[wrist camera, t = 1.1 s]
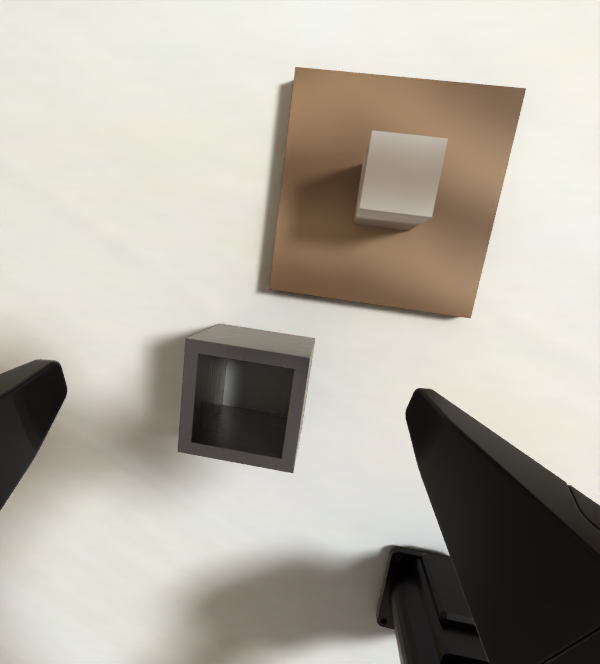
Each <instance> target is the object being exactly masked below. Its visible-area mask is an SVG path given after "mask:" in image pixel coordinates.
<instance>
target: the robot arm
mask: <svg viewBox="0 0 600 664" xmlns="http://www.w3.org/2000/svg"><path fill="white" fill-rule="evenodd" d="M66 395H67V385H66V382H65V378H64V374H63V371H62V367H61V364H60V363H59V362H57V361H55V360H42V359H39V360H34V361H32V362H29V363H27V364H24V365H22V366H19V367H17V368H14V369H12V370H9V371H7V372H4V373H2V374H0V510H1V509H2V507H3V506H4V504H5V503H6V501H7V500H8V498H9V496H10V495H11V493H12V492H13V490H14V489H15V487H16V486H17V484H18V483H19V481H20V480H21V478H22V477H23V475H24V473H25V472H26V470H27V469H28V467H29V466H30V464H31V462H32V461H33V459H34V458H35V456H36V454H37V452H38V451H39V449H40V447H41V445H42V443H43V441H44V439H45V437H46V435H47V433H48V431H49V429H50V427H51V425H52V423H53V421H54V419H55V417H56V416H57V414H58V412H59V410H60V408H61V406H62V404H63V402H64V400H65V398H66ZM406 421H407V425H408V429H409V433H410V437H411V441H412V445H413V449H414V453H415V457H416V461H417V464H418V468H419V471H420V474H421V477H422V480H423V483H424V485H425V488H426V491H427V494H428V496H429V499H430V502H431V505H432V507H433V510H434V513H435V516H436V518H437V521H438V524H439V527H440V530H441V532H442V535H443V538H444V541H445V543H446V546H447V549H448V552H449V554H450V557H446V556H441V555H436V554H430V553H425V552H420V551H415V550H410V549H405V548H400V547H395V548H393V549H391V551H390V555H389V560H388V564H387V569H386V573H385V578H384V582H383V586H382V591H381V595H380V600H379V604H378V609H377V613H376V617H377V623H378V624H379V625H380V626H382V627H386V628H391V629H395V635H396V640H397V646H398V651H399V657H400V662H401V664H600V505H598V504H597V503H595V502H594V501H592V500H591V499H589V498H588V497H586V496H585V495H584V494H582V493H581V492H579V491H578V490H576V489H575V488H574V487H572V486H571V485H567V483H566V482H565V481H563V480H562V479H561V478H559V477H558V476H556V475H555V474H553V473H552V472H550V471H549V470H548V469H546V468H545V467H543V466H542V465H540V464H539V463H537V462H536V461H535V460H533V459H532V458H530V457H529V456H527V455H526V454H524V453H523V452H522V451H520V450H519V449H517V448H516V447H514V446H513V445H511V444H510V443H509V442H507V441H506V440H504V439H503V438H501V437H500V436H499V435H497V434H496V433H494V432H493V431H491V430H490V429H488V428H487V427H486V426H484V425H483V424H481V423H480V422H478V421H477V420H475V419H474V418H473V417H471V416H470V415H468V414H467V413H465V412H464V411H463V410H461V409H460V408H458V407H457V406H455V405H454V404H452V403H451V402H450V401H448V400H447V399H445V398H444V397H442V396H441V395H439V394H438V393H437V392H435V391H434V390H432V389H425V388H418V389H416V390H415V391H414V393H413V395H412V397H411V400H410V402H409V404H408V406H407V409H406ZM396 555H400V556H396Z"/></svg>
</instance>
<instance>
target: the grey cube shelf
mask: <svg viewBox="0 0 600 664" xmlns="http://www.w3.org/2000/svg"><path fill="white" fill-rule="evenodd" d="M314 343H315V338H309V337H303V336H296V335H290V334H283V333H277V332H270V331H264V330H257V329H251V328H244V327H238V326H232V325H225V324H218V325H216V326H213V327H211V328H209V329H206V330H204V331H201V332H199V333H197V334H194V335H192V336H189V337H187V338H186V343H185V357H184V371H183V385H182V399H181V413H180V427H179V441H178V452H182V453H188V454H193V455H198V456H204V457H209V458H215V459H220V460H225V461H231V462H236V463H241V464H247V465H252V466H257V467H263V468H268V469H274V470H279V471H284V472H290V473H293V471H294V466H295V460H296V455H297V450H298V445H299V440H300V434H301V429H302V423H303V416H304V409H305V403H306V396H307V389H308V383H309V376H310V369H311V363H312V356H313V349H314ZM227 358H230V359H236V360H242V361H248V362H254V363H260V364H267V365H273V366H279V367H285V368H291V369H294V375H293V382H292V390H291V397H290V404H289V411H288V416H282V415H276V414H271V413H265V412H259V411H253V410H248V409H242V408H236V407H230V406H225V405H223V394H224V384H225V374H226V364H227Z"/></svg>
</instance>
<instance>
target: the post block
mask: <svg viewBox="0 0 600 664" xmlns="http://www.w3.org/2000/svg"><path fill="white" fill-rule="evenodd" d="M525 90H526V89H525V88H515V87H504V86H493V85H482V84H472V83H461V82H450V81H439V80H429V79H418V78H407V77H396V76H386V75H375V74H364V73H353V72H343V71H332V70H321V69H311V68H300V67H295V75H294V84H293V92H292V101H291V109H290V118H289V126H288V134H287V143H286V151H285V160H284V168H283V177H282V185H281V193H280V202H279V210H278V219H277V227H276V236H275V244H274V252H273V261H272V269H271V278H270V286H269V289H272V290H279V291H286V292H293V293H300V294H307V295H313V296H320V297H327V298H334V299H341V300H348V301H355V302H362V303H369V304H376V305H382V306H389V307H396V308H403V309H410V310H417V311H424V312H431V313H438V314H445V315H451V316H458V317H465V318H471V314H472V310H473V306H474V302H475V298H476V293H477V289H478V285H479V281H480V277H481V273H482V269H483V264H484V260H485V256H486V252H487V248H488V244H489V240H490V235H491V231H492V227H493V223H494V219H495V215H496V211H497V206H498V202H499V198H500V194H501V190H502V186H503V182H504V177H505V173H506V169H507V165H508V161H509V157H510V153H511V148H512V144H513V140H514V136H515V132H516V128H517V124H518V119H519V115H520V111H521V107H522V103H523V99H524V95H525Z"/></svg>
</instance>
